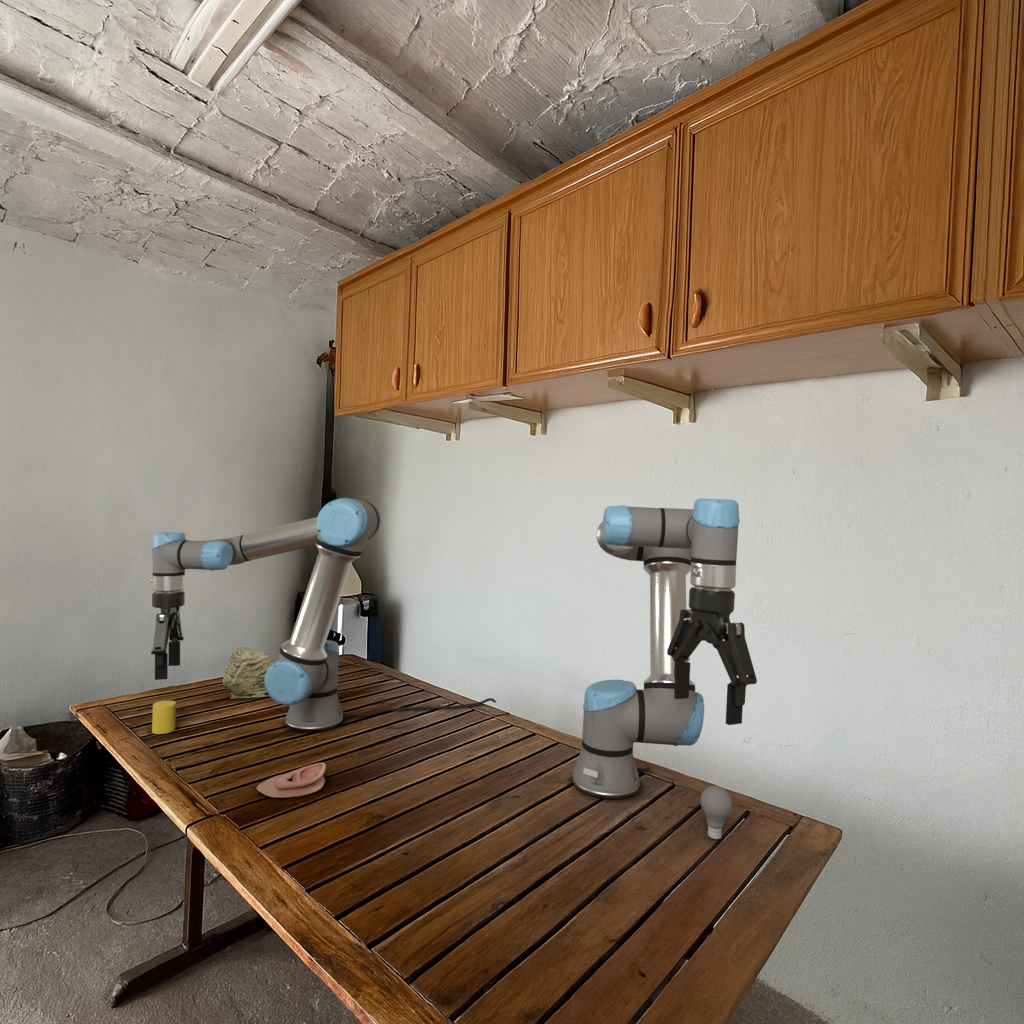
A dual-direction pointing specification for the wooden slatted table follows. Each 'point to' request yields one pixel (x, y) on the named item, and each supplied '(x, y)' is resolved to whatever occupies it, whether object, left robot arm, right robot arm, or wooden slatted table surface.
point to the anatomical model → (295, 782)
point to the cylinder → (163, 717)
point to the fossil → (247, 673)
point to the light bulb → (715, 809)
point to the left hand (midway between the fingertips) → (167, 672)
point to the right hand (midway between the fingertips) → (706, 710)
